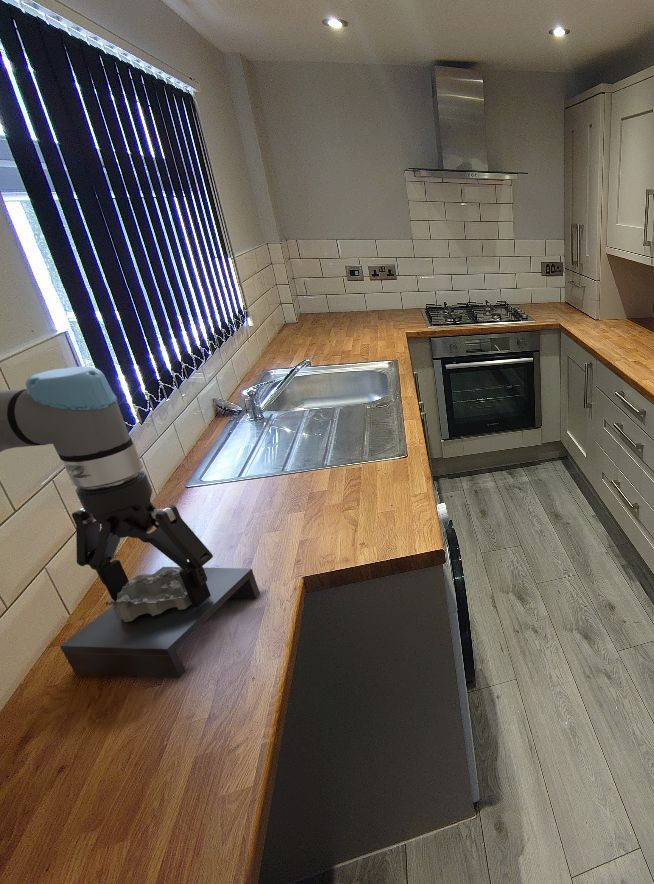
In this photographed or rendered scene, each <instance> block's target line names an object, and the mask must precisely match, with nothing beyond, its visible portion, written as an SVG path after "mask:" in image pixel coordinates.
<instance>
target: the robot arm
mask: <svg viewBox="0 0 654 884" xmlns="http://www.w3.org/2000/svg"><path fill="white" fill-rule="evenodd" d="M24 383H25V387H26V388H17V389H0V453H1V452H4V451H7V450H10V449H15V448H27V447H38V446H47V445H52V446H53V447H54V449H55V451H56V453H57V455H58V457H59V459H60V460H61V462H62V464H63V466H64V469H65V471H66V473H67V475H68V477H69V480H70V482H71V484H72V485H73V486H74V487H76V489H75V493H76V496H77V498H78V500H79V502H80V504H81V506H82V507H81V508H79V509H78V510H75V511H73V512H72V513H71V517H72V519H73V521H74V524H75V528H76V529H75V531H76V534H75V535H76V536H75V543H76V564H77V565H79V566H80V567H85V566H89V567H90V568H91V570H94V571H95V572H96V573H97V575H98V577H99V579H100V582H101V584H103V585H104V586H105V588H106V590H107V592H108V593H109V596H110V598H111V600H112V599H113V600H114V601H115V602H116V600H117V594H118V593H120V592H121V590H122V587H124V586H125V585H126V583H127V582H129V581H130V580H129V578H128V575H127V574H126V572H125V570H124V566H123V565H122V563H121V561H120V559H115V558H117V555H116V552H117V549H118V546H119V544H120V541H121V539H122V538H123V539H124V538H131V539H139V540H140V541H141V542H143V543H146V544H147V543H149V544H150V545H152V546H153V547H154V548H155V549H157V550H158V551H160V552H161V553H162V555H165V557H167V558H168V559H169V560H170V561H172V562H173V563H174V564H175V565H177V567H181V568H182V569H183V570H182V571H181V572H179V574H180V576H181V579H182V581H183V583H184V586H185V588H186V591H187V593H188V596H189V598H190V600H191V603H192V605H193V607H199V606H200V605H201V604H202V603H203V602H204V601H205V600H206V599H207V598H209V597H210V596H211V594H210V592H209V589H208V587H207V584H206V581H207V576H206V574H205V571H204V569H203V568H204V565H206V564H207V563H208V562H209V561H210V560H212V559H213V558H214V555H213V553H212V552H211V550H209V548H208V547H207V546H206V545H205V543H203V542H202V541H201V539H200V538H199V537H198V536H197V534H196V533H195V532H194V531H193V530H192V529H191V527H190V526H189V525H188V524H187V523H186V522H185V521H184V519H183V518H182V517H181V514H180V512H179V509H178V508H177V506H176V505H173V504H170V505H168V506H166V507H165V508H157V507H156V506H155V505H154V504H153V503H152V501H151V500H152V499H151V498H152V495H153V488H152V487H153V486H152V485H151V483H150V480H149V478H148V475H147V472H146V471H145V470H142V469H144V464H143V462H142V459H141V458H140V455H139V453H138V450H137V448H136V446H135V443H134V441H133V440H132V437H131V435H130V433H129V431H128V428H127V425H126V423H125V420H124V417H123V414H122V411H121V409H120V405H119V403H118V397H117V395H116V394H115V393H114V392H113V390H112V388H111V385H110V384H109V382H108V380H107V377H106V376H105V373H103V372H102V371H101V370H100V369H98V368H96V367H93V366H70V367H66V368H65V367H64V368H55V369H50V370H45V371H42V372H38V373H35V374H33V375H30V376H29V377H27V379H26V380H25V382H24ZM154 527H155V529H154V530H153V528H154ZM151 530H153V531H151ZM112 560H113V561H112Z"/></svg>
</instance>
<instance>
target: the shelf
mask: <svg viewBox="0 0 654 884" xmlns="http://www.w3.org/2000/svg"><path fill="white" fill-rule="evenodd" d="M172 569H176V570H180V569H181V567H179V566H162V567H161V568H159V569H158V570H156V571H155V572H154V573H153V574H157V573H160V572H166V571H170V570H172ZM203 569H204V571H205V574H206V576H207V581H206V584H207V587H208V589H209V592H210V594H211V596H210V597H209V598H207V599H206V600H205V601H204V602H203V603H202V604H201V605H200V606H199V607H193V605H192V604H191V605H189V606H188V607H187V608H186V609H182V610H179V609H178V607H172V608H169V609H167V610H165V611H163V612H162V613H161V614H157V615H154V616H152V615H151V614H150V613H146V614H142V615H139V616H138V617H136V618H135V619H134V620H132V621H129V622H125V621H124V620H123V619H117V616H116V614H115V612H114V609H113V608H112V606H113V605H110V607H108V608H107V609H106V610H104V611H103V612H102V613H100V614H99V615H98V616H97V617H96V618H94V619H93V620H92V621H90V622H89V623H88V624H87V625H85V626H83V628H81V629H80V630H79V631H77V632H76V633H75V634H73V635H72V636H70V638H68V639H67V640H66V641H64V642H63V643H61V645H59V648H60V649H61V651H62V653H63V655H64V656H65V659H66V661H67V662H68V663H69V666H70V667H71V669H72V671H73V673H74V674H75V675H78V676H79V675H80V676H81V675H83V676H112V677H139V678H140V677H143V678H144V677H145V678H171V679H173V678H174V679H180V678H182V676H183V675H184V674H185V673H186V672H187V670H186V668H185V666H184V664H183V662H182V661H183V660H182V659H181V657H180V654H179V652H178V650H177V649H178V648H179V647H180V646H182V644H183V643H184V642H185V641H186V640H188V639H189V637H191V636H192V635H193V634H194V633H195V632H196V631H197V630H198V629H199V628H200V627H201V626H202V625H203V624H204V623H205V622H206V621H207V620H208V619H209V618H210V617H211V616H212V615H213V614H214V613H215V612H216V611H217V610H218V609H219V608H221V606H222V605H224V604H225V603H226V602H227V601H228V599H257V598H258V597H259V596H260V595H261V592H260V589H259V586H258V583H257V579H256V577H255V575H254V572H253V569H252V568H245V567H244V568H243V567H242V568H240V567H203Z"/></svg>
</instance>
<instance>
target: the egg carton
mask: <svg viewBox="0 0 654 884" xmlns="http://www.w3.org/2000/svg"><path fill="white" fill-rule="evenodd" d="M182 570H183V569H182V568H181V569H180V570H176V569H172V570H170V571H166V572H160V573H157V574H154V573H151V574H150V573H149V574H148V573H147V574H139V575H137V576H135V577H133V578H132V579H130V580H129V582H127V583H126V585H125V586H124V587H122V590H121V592H120V593H118V594H117V600H116V602H115V601H114V600H113V599H112V598H111V599H110V600H108V601H106V602H105V606H112V608H113V609H114V612H115V614H116V616H117V619H123V620H124V621H125V622H129V621H132V620H134V619H135V618H136V617H138V616H139V615H142V614H146V613H150V614H151V615H152V616H154V615H157V614H161V613H162V612H163V611H165V610H167V609H169V608H172V607H178V609H179V610H182V609H186V608H187V607H188V606H189V605H191V604H192V603H191V600H190V598H189V596H188V593H187V591H186V588H185V586H184V583H183V581H182V579H181V576H180V574H179V572H181V571H182Z"/></svg>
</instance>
